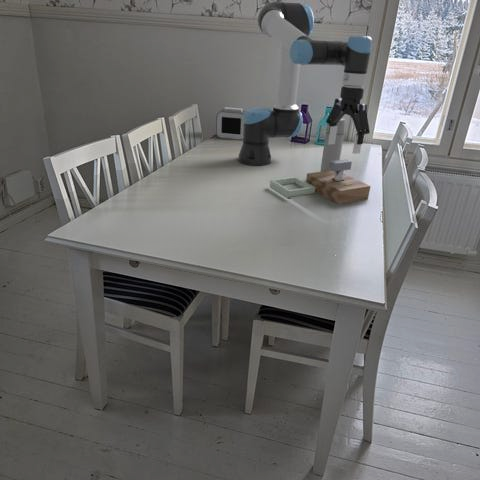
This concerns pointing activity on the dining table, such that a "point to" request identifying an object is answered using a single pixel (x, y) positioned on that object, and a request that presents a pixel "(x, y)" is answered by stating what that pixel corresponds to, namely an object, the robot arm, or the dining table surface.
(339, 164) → the t key
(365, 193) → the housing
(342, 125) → the water bottle
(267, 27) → the robot arm
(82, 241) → the dining table surface
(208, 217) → the dining table surface
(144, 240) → the dining table surface
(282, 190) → the tray
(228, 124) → the grey monitor with handle
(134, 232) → the dining table surface
